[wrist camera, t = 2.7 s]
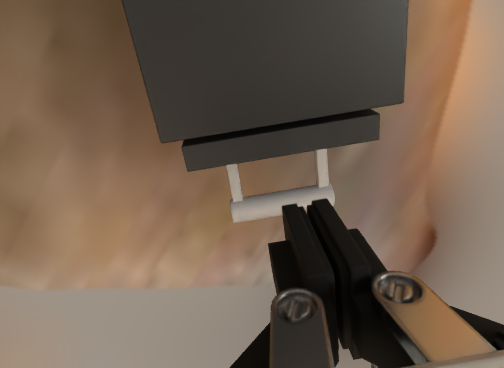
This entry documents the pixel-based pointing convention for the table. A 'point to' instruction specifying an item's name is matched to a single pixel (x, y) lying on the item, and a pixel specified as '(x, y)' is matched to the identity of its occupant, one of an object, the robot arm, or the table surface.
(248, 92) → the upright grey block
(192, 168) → the drawer
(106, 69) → the table surface
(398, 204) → the table surface
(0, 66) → the table surface
